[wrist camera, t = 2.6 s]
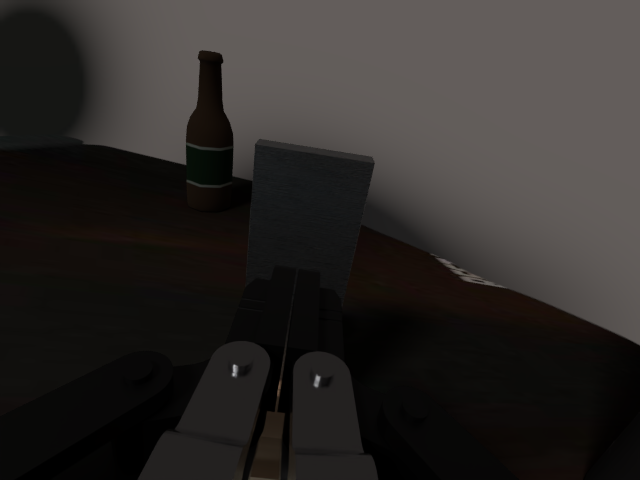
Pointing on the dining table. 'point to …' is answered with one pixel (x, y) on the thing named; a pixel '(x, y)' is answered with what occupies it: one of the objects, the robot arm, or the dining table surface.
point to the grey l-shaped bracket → (306, 212)
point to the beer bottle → (209, 142)
